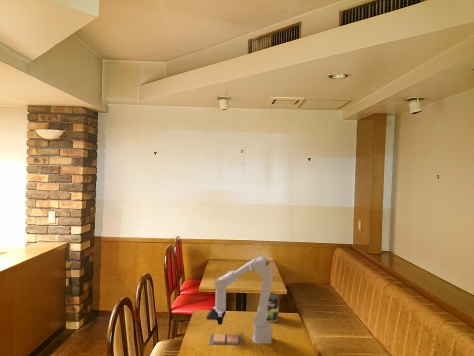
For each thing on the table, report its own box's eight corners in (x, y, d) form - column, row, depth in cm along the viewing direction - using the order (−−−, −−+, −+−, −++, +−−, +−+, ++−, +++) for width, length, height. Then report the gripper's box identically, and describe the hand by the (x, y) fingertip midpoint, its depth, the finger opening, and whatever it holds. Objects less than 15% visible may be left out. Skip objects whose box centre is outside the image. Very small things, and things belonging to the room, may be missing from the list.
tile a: (238, 334, 180) (238, 341, 173) (238, 337, 180) (238, 344, 173) (227, 334, 180) (226, 341, 173) (227, 337, 180) (226, 343, 173)
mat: (241, 335, 182) (241, 334, 182) (242, 346, 171) (242, 345, 171) (210, 334, 182) (210, 334, 182) (209, 345, 171) (209, 344, 171)
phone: (205, 318, 200) (211, 308, 215) (205, 320, 200) (211, 309, 215) (218, 319, 199) (223, 309, 214) (218, 321, 199) (223, 310, 214)
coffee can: (277, 323, 198) (277, 299, 197) (260, 320, 201) (260, 297, 200) (279, 316, 208) (280, 293, 207) (263, 313, 211) (264, 291, 210)
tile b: (225, 334, 180) (224, 341, 173) (225, 336, 180) (224, 343, 173) (214, 334, 179) (213, 340, 172) (214, 336, 180) (213, 343, 173)
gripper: (214, 294, 190) (213, 317, 191) (212, 305, 176) (212, 330, 176) (226, 294, 190) (225, 318, 191) (225, 305, 176) (225, 330, 176)
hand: (220, 324), depth 184 cm, fingers closed
